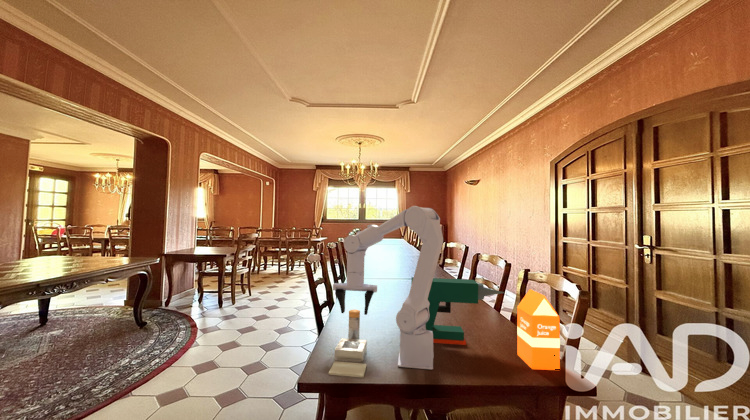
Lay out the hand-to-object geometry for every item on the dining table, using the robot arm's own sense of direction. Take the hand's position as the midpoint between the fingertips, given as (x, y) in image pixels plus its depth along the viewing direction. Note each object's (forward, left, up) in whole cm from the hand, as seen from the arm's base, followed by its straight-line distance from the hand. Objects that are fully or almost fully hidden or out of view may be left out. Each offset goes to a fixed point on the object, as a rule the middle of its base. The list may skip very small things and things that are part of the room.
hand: (354, 313), depth 94 cm
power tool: (-34, -8, -10) cm, 36 cm away
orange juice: (-55, +4, -10) cm, 56 cm away
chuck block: (-1, +9, -9) cm, 13 cm away
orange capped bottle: (0, 0, -9) cm, 9 cm away
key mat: (-2, +18, -9) cm, 20 cm away
